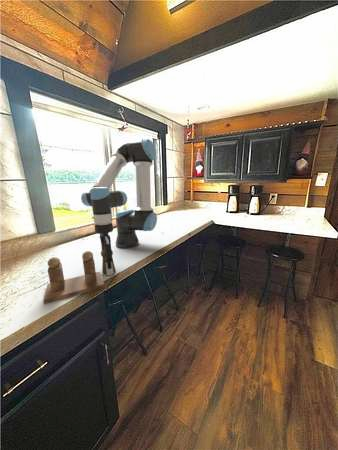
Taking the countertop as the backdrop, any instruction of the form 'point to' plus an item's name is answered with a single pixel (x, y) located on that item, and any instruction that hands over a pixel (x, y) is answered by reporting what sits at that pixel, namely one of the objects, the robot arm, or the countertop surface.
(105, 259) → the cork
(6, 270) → the countertop surface
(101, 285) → the wooden peg board
